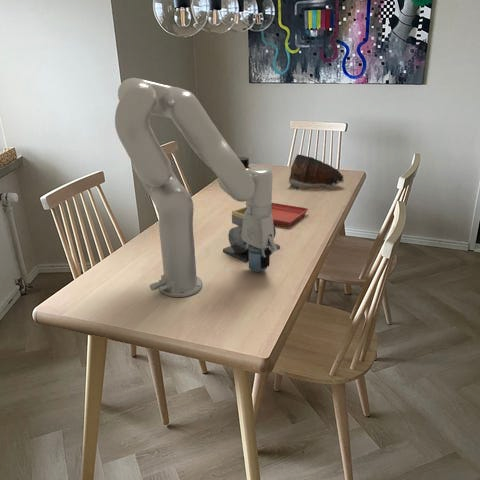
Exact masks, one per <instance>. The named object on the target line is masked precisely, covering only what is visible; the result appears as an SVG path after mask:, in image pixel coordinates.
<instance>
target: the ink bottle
mask: <svg viewBox="0 0 480 480" xmlns="http://www.w3.org/2000/svg"><path fill="white" fill-rule="evenodd" d="M237 157H238V156H237ZM238 158H239V159H240V161H241V162H242V164H243V165H244V167H245V168H247V169H250V168H251V167H250V158H249V157H246V156H239V157H238Z"/></svg>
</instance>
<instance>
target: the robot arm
mask: <svg viewBox="0 0 480 480" xmlns="http://www.w3.org/2000/svg"><path fill="white" fill-rule="evenodd" d="M117 99H118V104H117V106H116V109H115V114H114V125H115V127H114V128H115V131H116V134H117V136H118V139H119V140H120V143H121V144H122V146H123V148H124V150H125V152H126V154H127V155H128V158H129V159H130V161H131V165H132V169H133V170H134V172H135V174H136V175H137V178H138V179H139V181H140V182H141V184H142V186H143V187H144V189H145V191H146V192H147V194H148V195H149V197H150V199H151V200H152V202H153V203H154V205H155V207H156V209H157V212H158V228H159V242H160V248H161V259H162V268H163V269H162V271H163V274H162V275H160V279H159V280H158V281H157V282H154V283H150V284H149V288H150V290H151V291H152V292H154V291H155V290H158V291H159V292H160V293H162V294H163V295H166V296H168V297H172V298H182V297H183V298H184V297H189V296H193V295H194V294H196V293H198V292H200V290H201V289H202V288H203V281H202V279H201V278H200V277H199V276H197V267H196V265H197V263H196V252H195V251H196V250H195V239H194V238H195V237H194V224H193V223H194V202H193V199H192V196H191V194H190V192H189V191H188V190H187V189H186V188H185V186H183V185H182V183H181V182H180V181H179V179H178V178H177V176H176V174H175V172H174V171H173V167H172V163H171V160H170V158H169V157H168V155H167V154H166V153H165V151H164V149H163V147H162V146H161V144H160V142H159V140H158V139H157V137H156V135H155V132H154V131H153V128H152V126H151V122H150V121H151V115H152V116H155V117H156V116H158V117H163V118H168V119H171V121H172V122H173V123H174V125H175V126H176V127H177V129H178V130H179V132H180V133H181V135H182V136H183V138H184V139H185V141H187V143H188V145H189V146H190V147H191V149H192V150H193V152H194V153H195V154H196V155H197V156H198V158H199V159H201V161H202V162H203V163H204V164H206V165H207V166H208V167H209V168H210V169H211V171H213V174H215V175H216V177H218V178H217V181H218V185H219V188H221V190H223V192H224V193H225V194H227V195H229V197H230V198H231V199H233V200H234V201H236V202H239V203H240V202H241V203H242V202H243V203H244V202H245V207H246V211H245V213H244V217H243V224H242V233H241V237H242V240H243V242H244V244H245V248H246V249H247V261H248V262H247V263H249V251H248V247H249V245H252V246H254V247H256V248H259V249H261V252H262V256H261V268H262V269H263V268H266V267H267V268H268V267H270V263H271V262H270V259H271V258H270V257H271V255H272V254H273V253H274V252H276V251H277V250H278V249H277V247H276V245H275V244H276V243H275V237H274V226H275V225H274V226H273V218H272V215H271V208H272V203H273V201H272V198H273V171H272V169H270V168H269V167H266V166H254V167H250V169H247V168H245V167H244V165H243V164H242V162H241V161H240V159H239V158H238V155H237V154H236V153H235V152H234V150H233V149H232V147H231V146H230V144H229V143H228V142H227V141H226V139H225V138H224V137H223V135H222V134H221V132H220V131H219V129H218V127H217V126H216V125H215V123H214V122H213V121H212V120H211V117H210V116H209V115H208V113H207V111H206V110H205V108H204V107H203V106H202V103H201V102H200V101H199V100H198V98H197V97H196V96H195V94H194V93H193V92H191V91H189V90H187V89H184V88H182V87H181V88H180V87H177V86H171V85H167V84H161V83H158V82H154V81H149V80H145V79H142V78H139V77H138V78H137V77H130V78H127V79H125V80H124V81H122V82H121V83H120V85H119V87H118V90H117ZM265 248H266V249H267V251H266V252H265Z"/></svg>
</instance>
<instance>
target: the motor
mask: <svg viewBox="0 0 480 480" xmlns="http://www.w3.org/2000/svg"><path fill="white" fill-rule="evenodd" d="M245 211H246V206H245V207H241V208H239V209H235V210H231V224H232V225H236V226H235V227H231V228H230V229H229V231H228V236H227V237H228V242H229V246H226V247H224V248H222V252H223V253H225V254H227V255H230V256H231V257H234V258H236V259H238V260H240V261H242V262H244V263H249V262H248V261H247V249H246V248H245V244H244V242H243V240H242V237H241V233H242V224H243V217H244V213H245ZM273 226H274V238H275V237H276V234H277V233H276V231H277V230H276V227H275V226H276V225H274V224H273ZM275 245H276V247H277V250H280V249H281V245H279V244H277V243H275Z"/></svg>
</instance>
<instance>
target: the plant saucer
mask: <svg viewBox="0 0 480 480" xmlns="http://www.w3.org/2000/svg"><path fill="white" fill-rule="evenodd" d="M308 211H309V208H307V207H300V206H295V205H288V204H282V203H275V202H272V208H271V215H272V218H273V224H274V226H281V227H285V228H288V227H290V226H291V225H293V224H294V223H296V222H297V221H298V220H299V219H301V218H302V217H304V215H305V214H306V213H307V212H308Z"/></svg>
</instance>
